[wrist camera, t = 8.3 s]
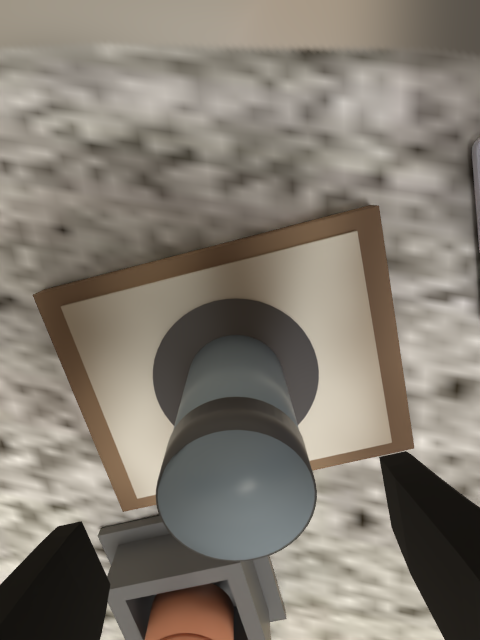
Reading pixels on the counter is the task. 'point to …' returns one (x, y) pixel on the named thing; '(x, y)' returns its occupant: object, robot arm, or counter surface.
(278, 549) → the grey canister
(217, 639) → the button
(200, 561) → the button housing
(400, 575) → the counter surface
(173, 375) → the cream rectangular board
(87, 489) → the counter surface
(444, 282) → the counter surface
